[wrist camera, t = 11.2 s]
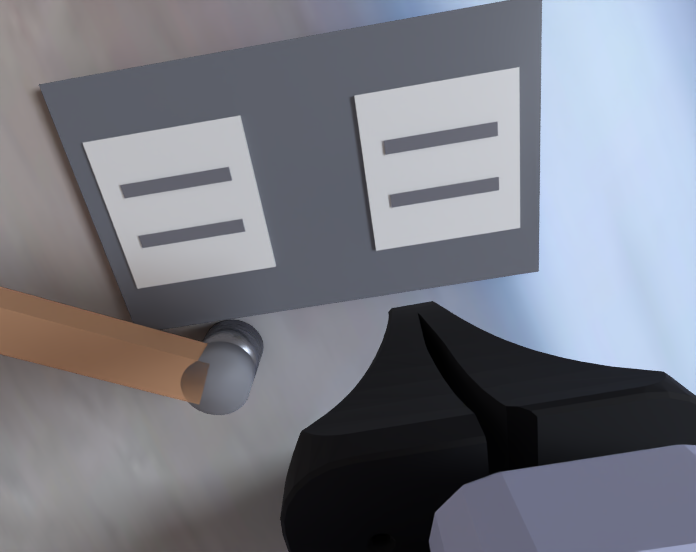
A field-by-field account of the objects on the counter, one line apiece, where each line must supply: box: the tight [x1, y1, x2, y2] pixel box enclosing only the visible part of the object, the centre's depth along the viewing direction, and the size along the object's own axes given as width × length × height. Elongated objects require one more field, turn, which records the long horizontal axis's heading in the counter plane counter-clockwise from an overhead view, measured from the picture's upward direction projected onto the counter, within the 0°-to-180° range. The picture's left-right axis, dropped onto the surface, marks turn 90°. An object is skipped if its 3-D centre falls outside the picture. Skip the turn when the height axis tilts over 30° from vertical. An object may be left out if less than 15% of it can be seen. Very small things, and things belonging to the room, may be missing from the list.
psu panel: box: [39, 0, 542, 330], centre depth 19 cm, size 12×21×1 cm, turn 99°
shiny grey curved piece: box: [202, 320, 263, 374], centre depth 22 cm, size 3×3×2 cm
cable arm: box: [0, 287, 256, 415], centre depth 19 cm, size 16×3×2 cm, turn 71°
